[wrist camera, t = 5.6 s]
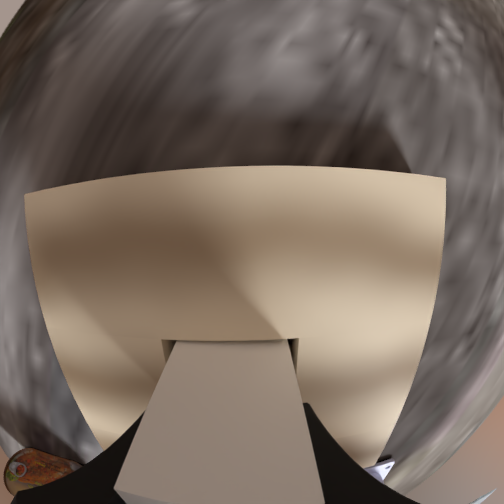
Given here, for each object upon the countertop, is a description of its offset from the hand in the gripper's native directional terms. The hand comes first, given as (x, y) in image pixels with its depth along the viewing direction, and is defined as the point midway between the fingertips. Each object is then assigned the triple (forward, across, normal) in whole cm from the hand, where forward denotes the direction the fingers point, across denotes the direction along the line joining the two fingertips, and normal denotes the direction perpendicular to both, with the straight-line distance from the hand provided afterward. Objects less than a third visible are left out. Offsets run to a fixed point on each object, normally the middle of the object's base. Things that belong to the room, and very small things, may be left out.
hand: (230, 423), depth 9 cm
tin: (+5, +21, +18) cm, 28 cm away
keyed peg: (+3, 0, 0) cm, 3 cm away
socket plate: (+4, 0, 0) cm, 4 cm away
